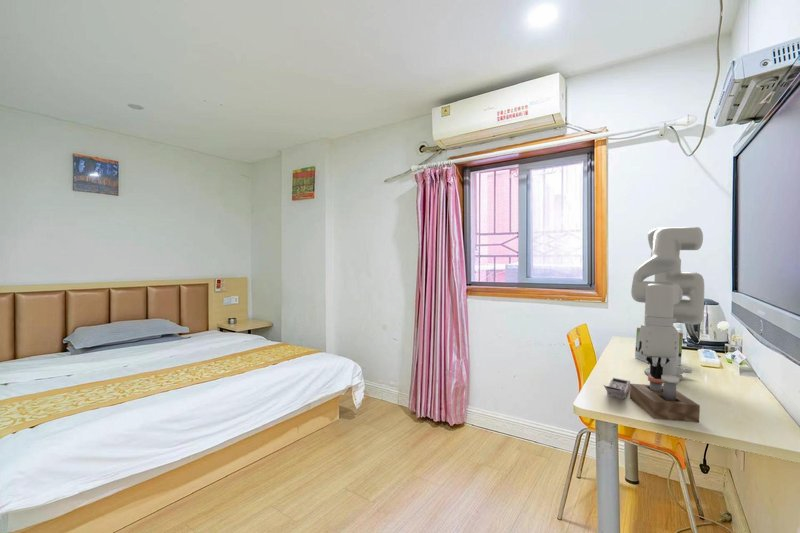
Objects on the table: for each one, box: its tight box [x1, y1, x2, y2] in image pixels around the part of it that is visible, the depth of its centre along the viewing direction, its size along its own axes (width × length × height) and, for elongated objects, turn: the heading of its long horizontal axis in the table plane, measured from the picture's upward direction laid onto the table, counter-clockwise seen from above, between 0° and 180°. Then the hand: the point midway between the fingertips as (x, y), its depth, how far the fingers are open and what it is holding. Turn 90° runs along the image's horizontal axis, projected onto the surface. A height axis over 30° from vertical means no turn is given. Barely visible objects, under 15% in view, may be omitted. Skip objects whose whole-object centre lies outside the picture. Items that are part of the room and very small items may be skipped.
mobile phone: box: [603, 377, 631, 400], centre depth 130 cm, size 6×6×25 cm
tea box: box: [634, 327, 684, 365], centre depth 171 cm, size 15×10×15 cm
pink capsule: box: [647, 375, 664, 392], centre depth 120 cm, size 4×4×7 cm
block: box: [629, 383, 701, 423], centre depth 116 cm, size 12×16×5 cm
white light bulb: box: [661, 374, 680, 401], centre depth 112 cm, size 4×4×7 cm
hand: (656, 377), depth 120 cm, fingers closed
